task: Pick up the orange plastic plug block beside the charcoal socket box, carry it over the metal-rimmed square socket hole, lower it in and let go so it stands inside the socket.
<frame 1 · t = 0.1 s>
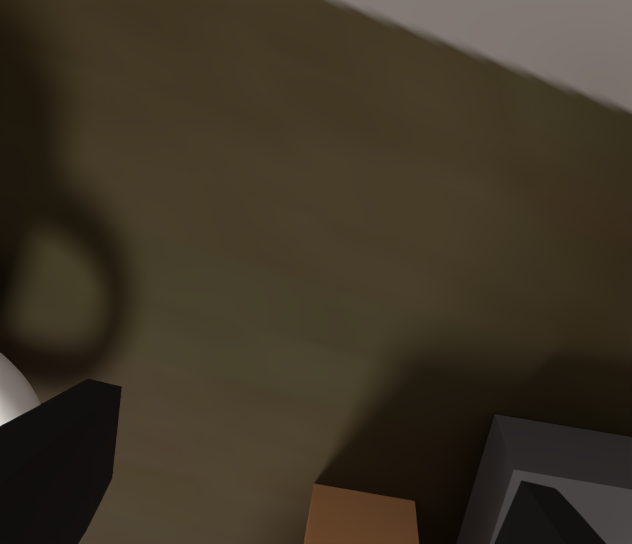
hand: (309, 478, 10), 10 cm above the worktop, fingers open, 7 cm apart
plug: (356, 531, 23), on the worktop
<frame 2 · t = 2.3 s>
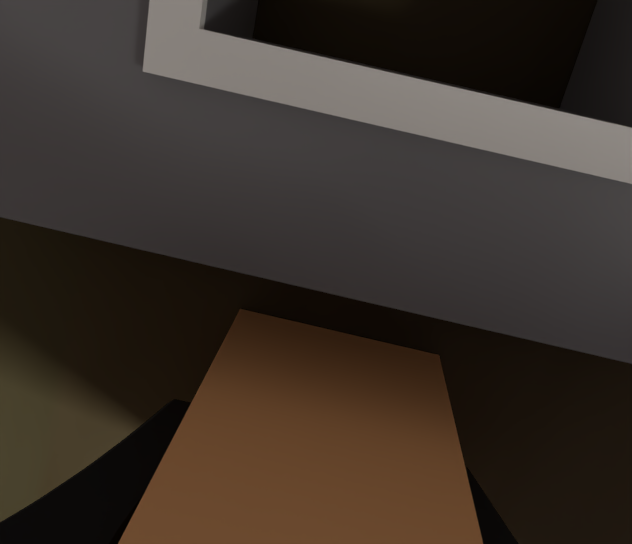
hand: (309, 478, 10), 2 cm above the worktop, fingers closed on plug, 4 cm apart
plug: (318, 415, 12), on the worktop, touching gripper
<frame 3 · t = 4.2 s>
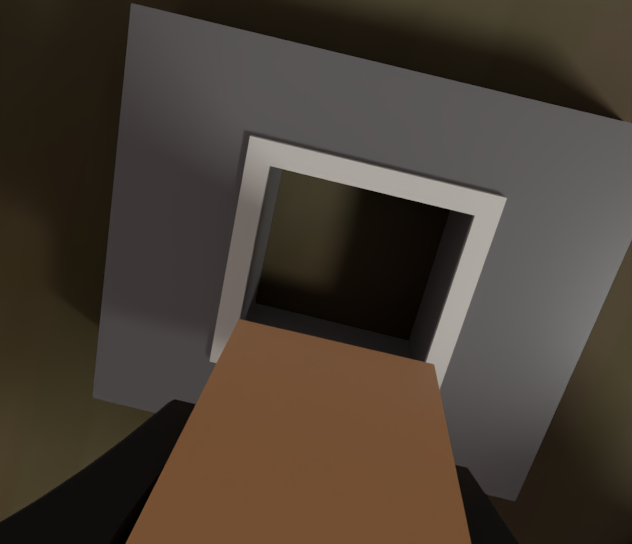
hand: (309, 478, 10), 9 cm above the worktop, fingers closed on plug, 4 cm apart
socket block: (350, 248, 18), on the worktop
plug: (315, 423, 12), point 7 cm above the worktop, touching gripper
when the fingers open (4 cm above the worktop, at t = 6.3 s): plug drops 2 cm, resting in socket block.
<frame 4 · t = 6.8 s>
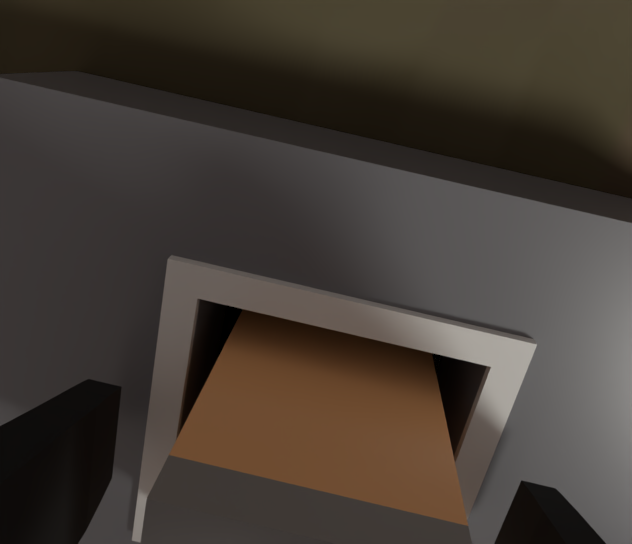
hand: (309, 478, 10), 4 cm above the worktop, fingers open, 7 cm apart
socket block: (325, 368, 14), on the worktop
plug: (322, 375, 14), resting in socket block
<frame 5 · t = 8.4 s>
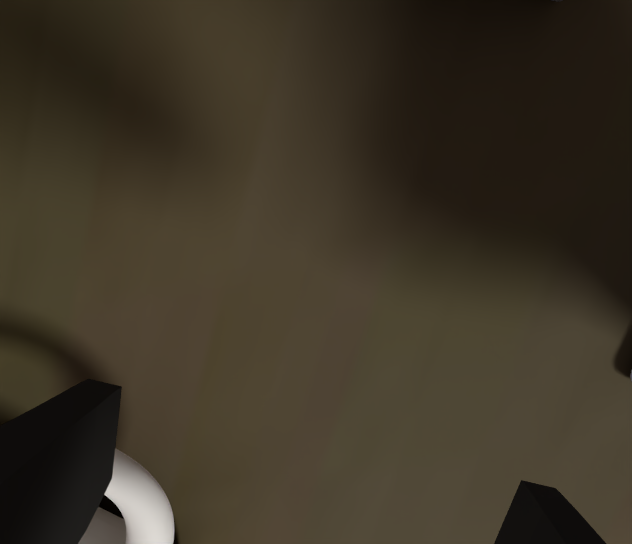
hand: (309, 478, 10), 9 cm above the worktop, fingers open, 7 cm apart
mug: (85, 485, 23), on the worktop
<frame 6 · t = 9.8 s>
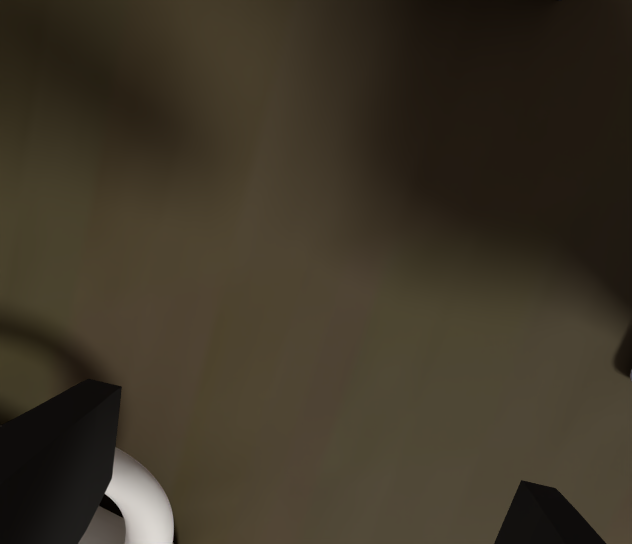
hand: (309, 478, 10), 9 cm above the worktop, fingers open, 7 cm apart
mug: (84, 483, 23), on the worktop
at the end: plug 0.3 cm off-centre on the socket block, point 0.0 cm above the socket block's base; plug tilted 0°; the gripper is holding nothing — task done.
